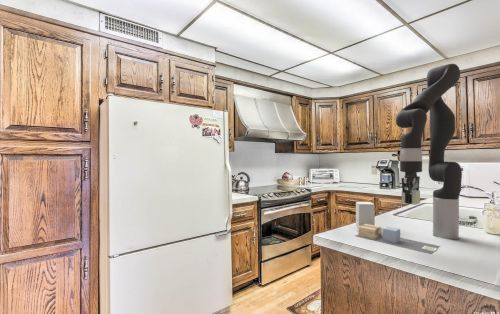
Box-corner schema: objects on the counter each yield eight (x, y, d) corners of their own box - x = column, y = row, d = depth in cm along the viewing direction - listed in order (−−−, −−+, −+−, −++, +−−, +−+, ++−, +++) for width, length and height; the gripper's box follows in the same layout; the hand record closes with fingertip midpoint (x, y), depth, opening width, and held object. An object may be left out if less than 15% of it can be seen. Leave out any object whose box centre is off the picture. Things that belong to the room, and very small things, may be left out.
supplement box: (374, 230, 127) (375, 204, 126) (358, 230, 128) (358, 203, 128) (371, 226, 134) (371, 201, 134) (355, 226, 135) (355, 201, 135)
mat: (366, 231, 126) (366, 230, 126) (440, 247, 104) (440, 246, 104) (354, 236, 117) (354, 235, 117) (431, 255, 96) (431, 254, 96)
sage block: (406, 201, 109) (406, 189, 109) (420, 203, 105) (420, 190, 105) (401, 203, 106) (401, 190, 106) (415, 204, 102) (415, 191, 102)
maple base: (365, 232, 123) (365, 223, 123) (381, 235, 117) (381, 226, 117) (358, 235, 118) (358, 226, 118) (374, 239, 113) (374, 229, 113)
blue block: (387, 237, 114) (387, 226, 114) (400, 240, 111) (400, 228, 111) (382, 240, 111) (382, 228, 111) (395, 243, 107) (395, 231, 107)
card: (424, 246, 104) (424, 245, 104) (436, 249, 101) (436, 248, 101) (421, 248, 101) (421, 247, 101) (433, 251, 98) (433, 250, 98)
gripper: (415, 160, 98) (415, 206, 98) (427, 159, 107) (427, 201, 107) (393, 160, 103) (393, 203, 103) (406, 159, 113) (406, 199, 113)
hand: (410, 202), depth 105 cm, fingers closed on sage block, 5 cm apart
